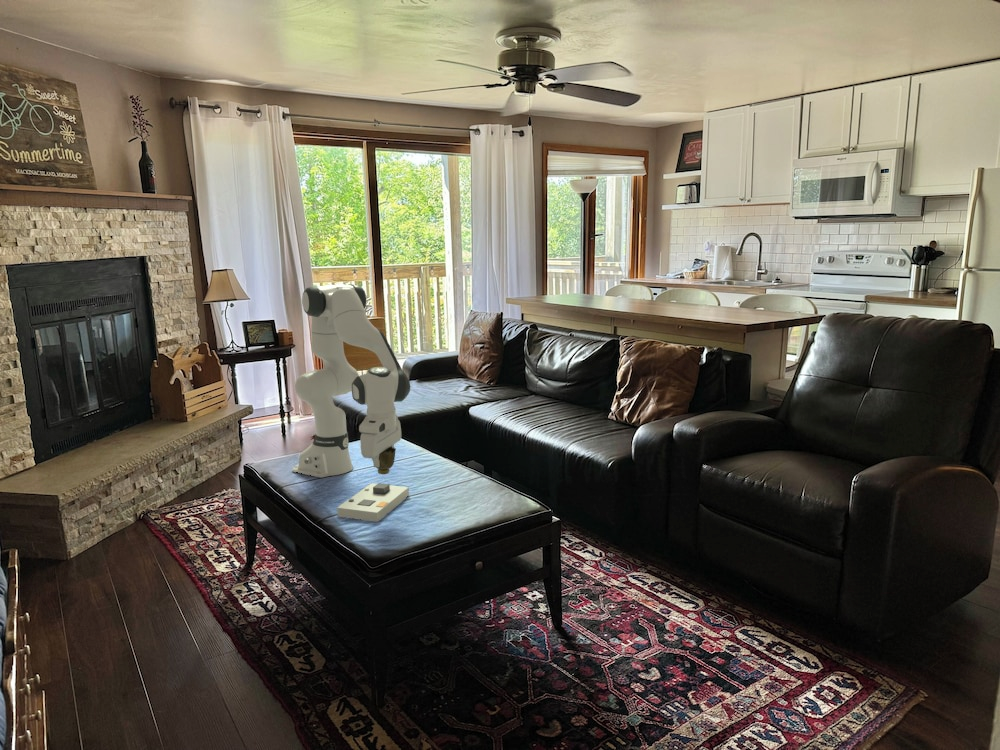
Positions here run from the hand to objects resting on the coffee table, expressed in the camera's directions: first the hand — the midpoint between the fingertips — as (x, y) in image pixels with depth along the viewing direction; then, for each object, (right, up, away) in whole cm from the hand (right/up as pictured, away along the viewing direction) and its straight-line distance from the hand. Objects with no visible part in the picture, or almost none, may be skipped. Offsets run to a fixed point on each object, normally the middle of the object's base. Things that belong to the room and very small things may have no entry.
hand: (383, 462), depth 206 cm
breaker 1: (-6, -16, +3) cm, 17 cm away
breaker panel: (-4, -15, +8) cm, 18 cm away
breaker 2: (-3, -12, +12) cm, 18 cm away
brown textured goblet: (0, -4, +1) cm, 4 cm away
